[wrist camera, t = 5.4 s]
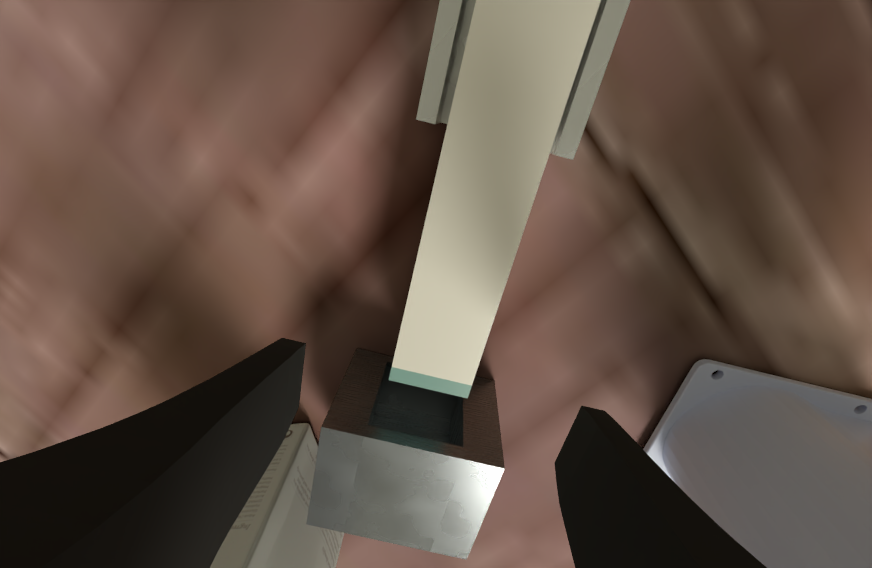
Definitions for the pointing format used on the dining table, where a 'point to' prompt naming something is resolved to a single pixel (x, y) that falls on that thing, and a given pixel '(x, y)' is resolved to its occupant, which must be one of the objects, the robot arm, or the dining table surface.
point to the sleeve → (450, 51)
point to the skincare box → (282, 515)
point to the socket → (406, 460)
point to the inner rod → (487, 182)
